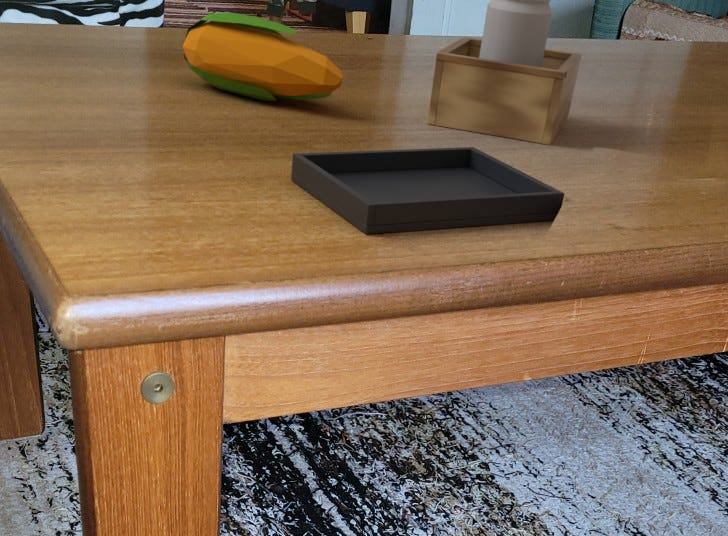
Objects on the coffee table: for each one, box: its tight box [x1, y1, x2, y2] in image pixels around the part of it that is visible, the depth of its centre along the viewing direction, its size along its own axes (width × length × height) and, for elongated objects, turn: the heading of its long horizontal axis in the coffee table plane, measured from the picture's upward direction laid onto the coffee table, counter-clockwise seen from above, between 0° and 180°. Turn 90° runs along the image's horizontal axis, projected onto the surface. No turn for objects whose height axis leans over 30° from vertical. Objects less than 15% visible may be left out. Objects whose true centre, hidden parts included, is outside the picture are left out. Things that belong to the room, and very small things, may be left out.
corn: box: [182, 12, 344, 102], centre depth 101 cm, size 7×8×20 cm
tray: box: [290, 146, 565, 235], centre depth 78 cm, size 17×13×2 cm
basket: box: [426, 36, 583, 146], centre depth 102 cm, size 13×13×7 cm
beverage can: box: [479, 0, 553, 67], centre depth 100 cm, size 6×6×12 cm
